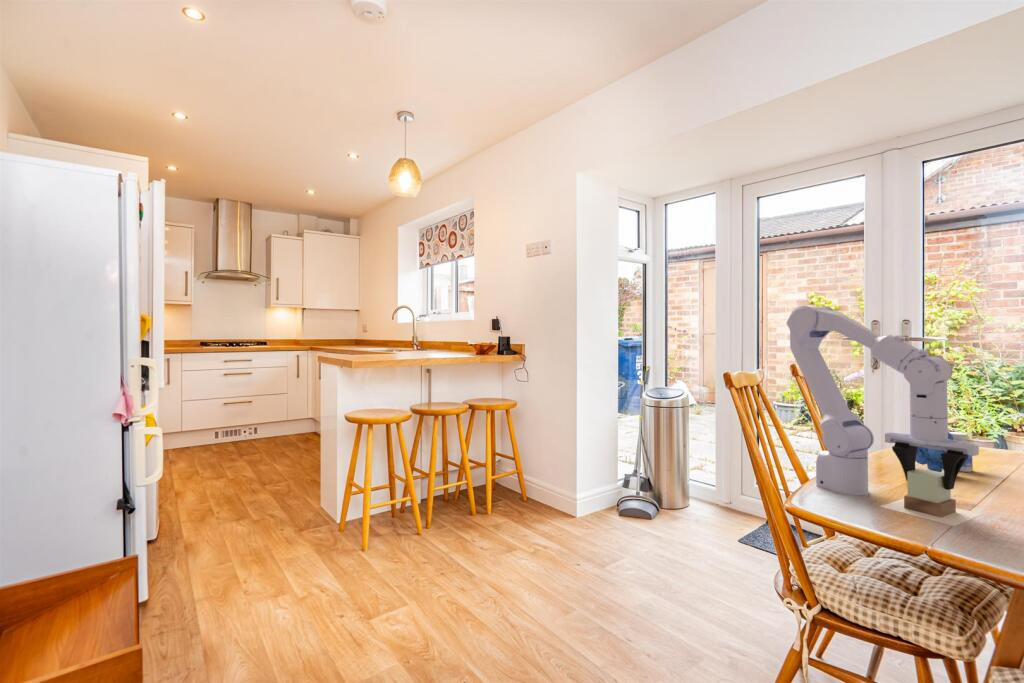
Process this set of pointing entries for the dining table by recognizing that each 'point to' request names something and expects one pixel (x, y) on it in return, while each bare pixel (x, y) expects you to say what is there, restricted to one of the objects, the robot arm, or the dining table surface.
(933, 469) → the blue flower
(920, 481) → the sage block
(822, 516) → the dining table surface
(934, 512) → the walnut base block
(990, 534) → the dining table surface
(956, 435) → the pill bottle
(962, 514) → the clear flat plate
